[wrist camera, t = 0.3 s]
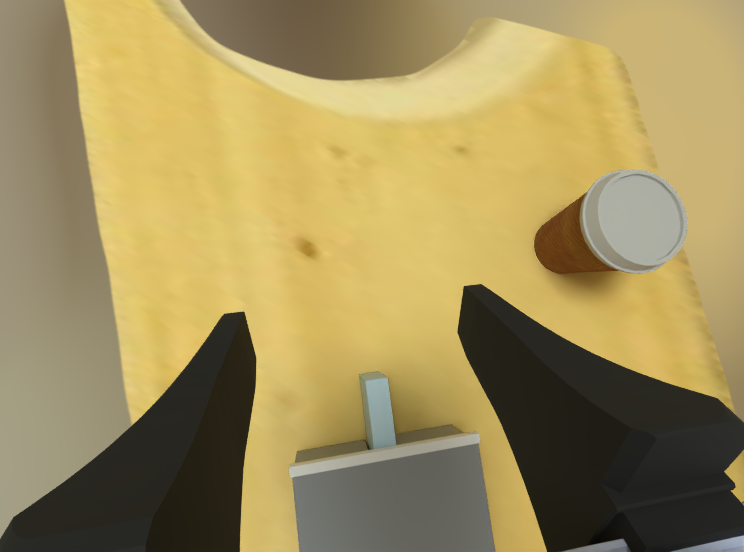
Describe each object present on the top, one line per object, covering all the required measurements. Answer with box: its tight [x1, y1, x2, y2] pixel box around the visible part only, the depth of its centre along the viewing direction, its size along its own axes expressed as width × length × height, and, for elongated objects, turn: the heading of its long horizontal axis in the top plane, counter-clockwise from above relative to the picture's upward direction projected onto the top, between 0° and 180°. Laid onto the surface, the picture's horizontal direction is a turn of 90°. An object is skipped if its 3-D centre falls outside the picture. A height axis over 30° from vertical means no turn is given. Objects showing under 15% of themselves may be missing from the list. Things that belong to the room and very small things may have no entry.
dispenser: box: [289, 425, 495, 552], centre depth 36 cm, size 12×16×7 cm
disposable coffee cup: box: [534, 170, 687, 274], centre depth 40 cm, size 10×10×12 cm
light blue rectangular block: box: [359, 372, 396, 450], centre depth 37 cm, size 14×2×6 cm, turn 7°
